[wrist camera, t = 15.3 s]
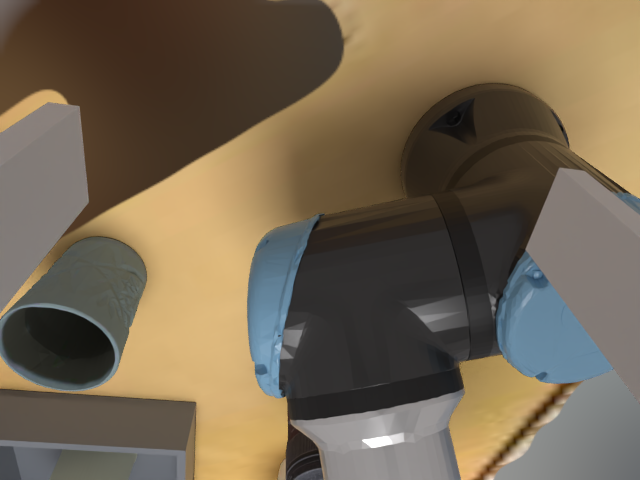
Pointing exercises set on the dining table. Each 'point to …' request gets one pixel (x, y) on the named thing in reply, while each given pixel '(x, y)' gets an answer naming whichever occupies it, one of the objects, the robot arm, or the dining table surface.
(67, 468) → the can
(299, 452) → the camera lens
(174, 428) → the box
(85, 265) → the blue-grey textured cup
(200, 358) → the dining table surface
